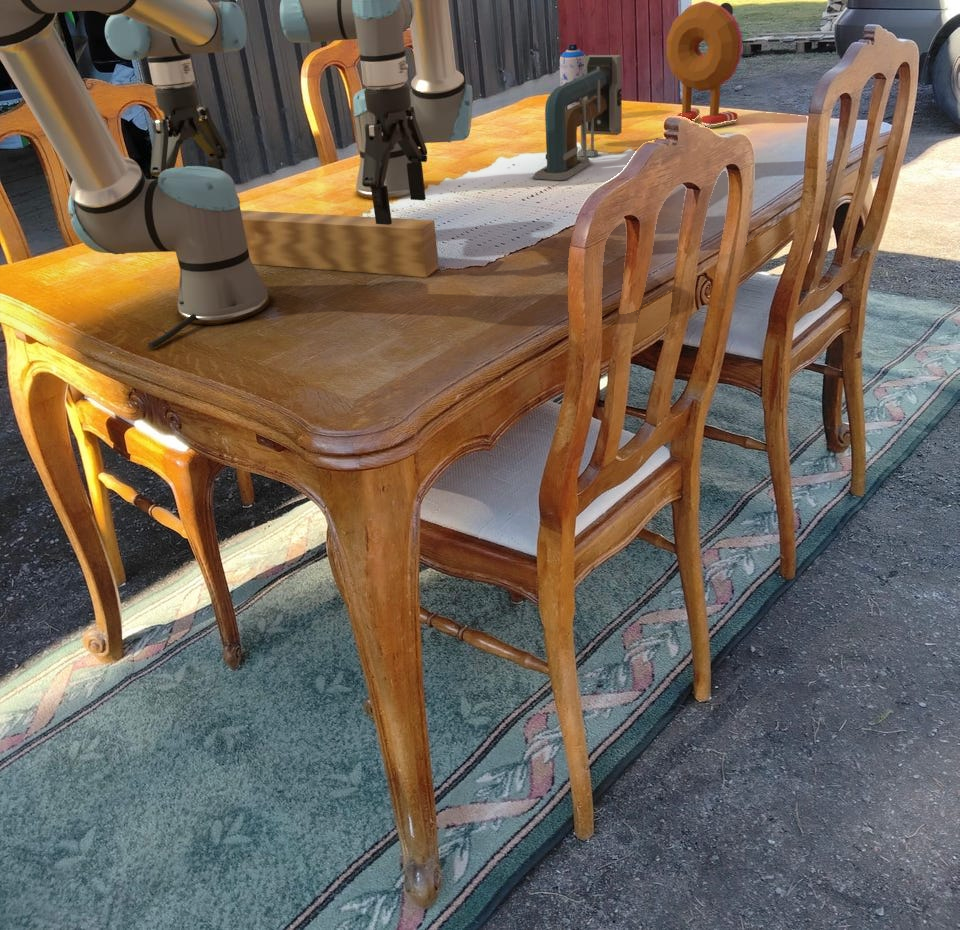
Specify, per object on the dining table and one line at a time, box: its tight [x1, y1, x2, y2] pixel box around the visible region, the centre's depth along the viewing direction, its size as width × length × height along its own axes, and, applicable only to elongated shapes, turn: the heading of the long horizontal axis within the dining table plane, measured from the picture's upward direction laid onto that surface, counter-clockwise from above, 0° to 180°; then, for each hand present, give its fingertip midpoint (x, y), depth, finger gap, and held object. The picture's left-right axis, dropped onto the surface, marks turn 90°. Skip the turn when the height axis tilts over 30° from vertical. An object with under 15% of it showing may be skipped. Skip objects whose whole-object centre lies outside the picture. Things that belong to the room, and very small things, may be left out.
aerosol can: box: [559, 43, 587, 109], centre depth 273 cm, size 8×8×20 cm
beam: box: [241, 209, 440, 278], centre depth 182 cm, size 54×5×9 cm, turn 67°
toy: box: [665, 0, 743, 129], centre depth 253 cm, size 21×10×30 cm, turn 47°
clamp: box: [532, 54, 623, 181], centre depth 230 cm, size 35×9×21 cm, turn 151°
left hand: (199, 202), depth 186 cm, fingers open, 13 cm apart
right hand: (401, 211), depth 171 cm, fingers open, 13 cm apart
